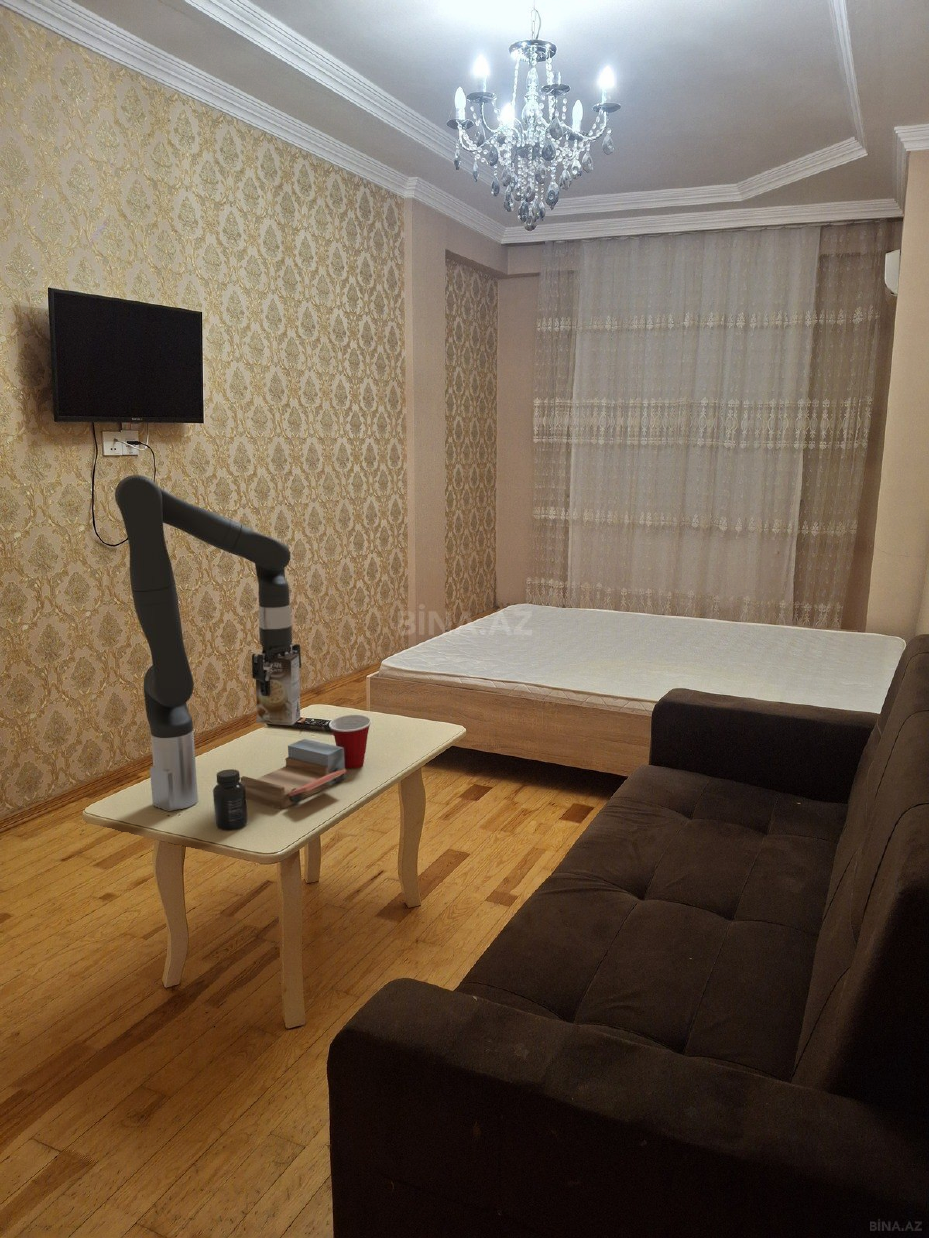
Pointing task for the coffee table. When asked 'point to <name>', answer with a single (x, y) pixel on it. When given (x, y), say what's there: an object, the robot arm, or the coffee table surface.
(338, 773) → the panel
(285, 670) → the coffee box
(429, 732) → the coffee table surface
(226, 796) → the supplement bottle
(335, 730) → the plastic cup
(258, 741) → the coffee table surface
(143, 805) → the coffee table surface
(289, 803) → the wooden tray with block
